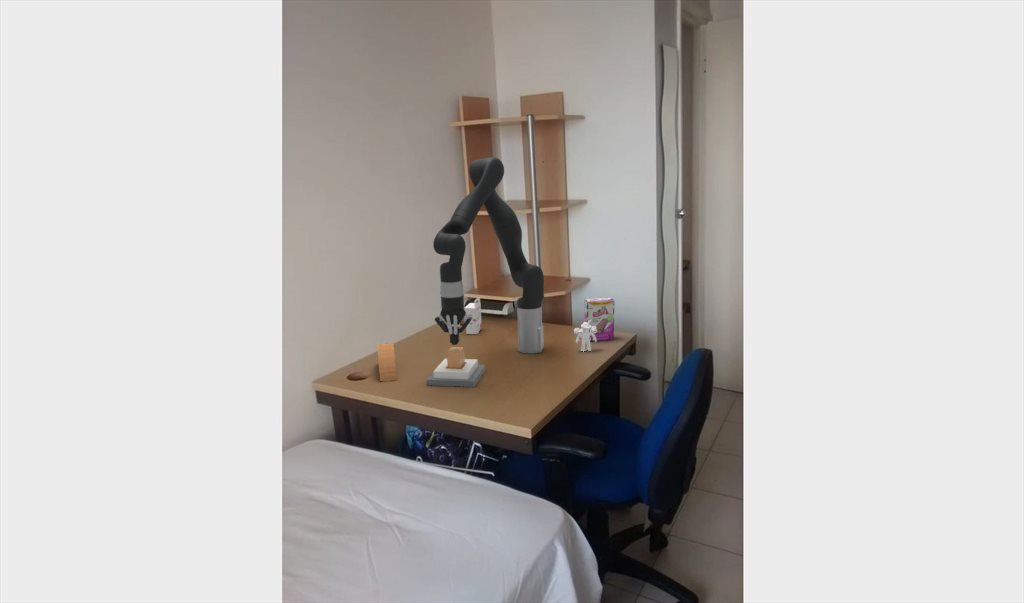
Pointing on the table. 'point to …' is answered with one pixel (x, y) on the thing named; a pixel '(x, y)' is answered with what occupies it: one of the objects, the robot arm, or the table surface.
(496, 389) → the table surface
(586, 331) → the blocky character figurine
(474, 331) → the ink cartridge box
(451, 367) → the cardboard parcel
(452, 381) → the socket plate
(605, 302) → the candy bar box
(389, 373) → the arch
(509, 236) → the robot arm
